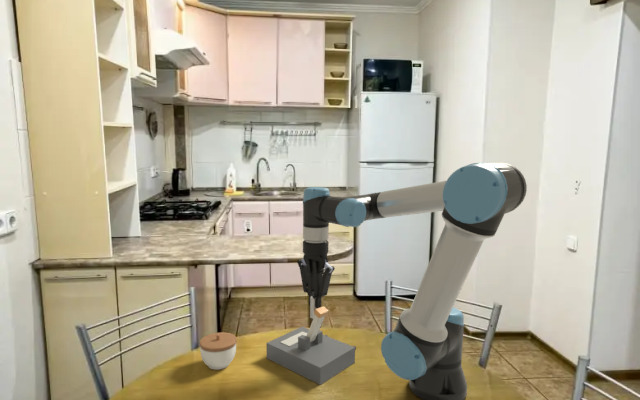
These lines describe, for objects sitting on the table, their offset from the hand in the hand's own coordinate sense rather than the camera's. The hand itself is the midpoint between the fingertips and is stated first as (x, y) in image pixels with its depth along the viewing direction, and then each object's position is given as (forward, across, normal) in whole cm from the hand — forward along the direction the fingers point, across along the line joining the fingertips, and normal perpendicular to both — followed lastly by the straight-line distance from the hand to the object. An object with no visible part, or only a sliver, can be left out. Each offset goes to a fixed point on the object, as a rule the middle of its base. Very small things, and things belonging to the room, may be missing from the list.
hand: (314, 316), depth 126 cm
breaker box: (+15, +2, 0) cm, 15 cm away
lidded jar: (+15, +21, +20) cm, 32 cm away
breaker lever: (+8, +2, 0) cm, 8 cm away
